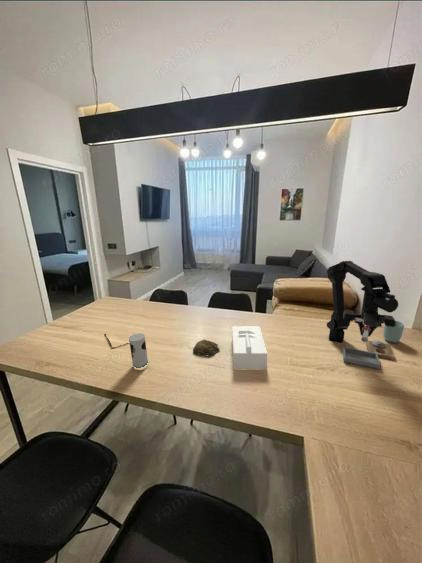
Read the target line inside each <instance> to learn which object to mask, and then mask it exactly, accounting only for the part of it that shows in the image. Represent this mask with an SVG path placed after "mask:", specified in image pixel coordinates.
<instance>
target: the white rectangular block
mask: <svg viewBox="0 0 422 563" xmlns="http://www.w3.org/2000/svg"><path fill="white" fill-rule="evenodd" d="M231 328H232V329H231V330H232V335H231V336H232V337H231V338H232V359H233V360H232V361H233V362H234V363H233V370H234V369H263V370H262V371H267V368H268V351H267V348H266V344H265V341H264V337H263V334H262V329H261V327H260V326H257V325H256V326H253V325H252V326H249V325H248V326H245V325H244V326H234V325H233V326H232V327H231Z"/></svg>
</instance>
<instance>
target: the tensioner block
mask: <svg viewBox="0 0 422 563" xmlns="http://www.w3.org/2000/svg"><path fill="white" fill-rule="evenodd" d="M365 344H366V351H368V352H373V353H377V355H378V358H381V359H387V360H392V361H395V357H396V356H395V354H394V352H393V349H392V347H391V344H389V343H384V342H381V341H376V340H374V341H372V340H368V342H365Z"/></svg>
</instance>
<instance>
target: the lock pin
mask: <svg viewBox="0 0 422 563" xmlns="http://www.w3.org/2000/svg"><path fill="white" fill-rule="evenodd" d="M370 329H371V326H370V325H368V326H367V325H364V323H363V333H362V335H361V339H360V340H361V342H364V343H366V342H368V341H369V330H370Z"/></svg>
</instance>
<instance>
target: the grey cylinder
mask: <svg viewBox="0 0 422 563" xmlns="http://www.w3.org/2000/svg"><path fill="white" fill-rule="evenodd" d="M133 334H134V333H133ZM129 342H130V343H129V348H130V354H131V356H130V357H131V362H132V367H133V366H134V367H136V368H141V367H144V366H145V365H147V363H148V364H149V360H148V352H147V343H146V335H145V334H144V333H135V334H134V335H132V336H130V337H129Z"/></svg>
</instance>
